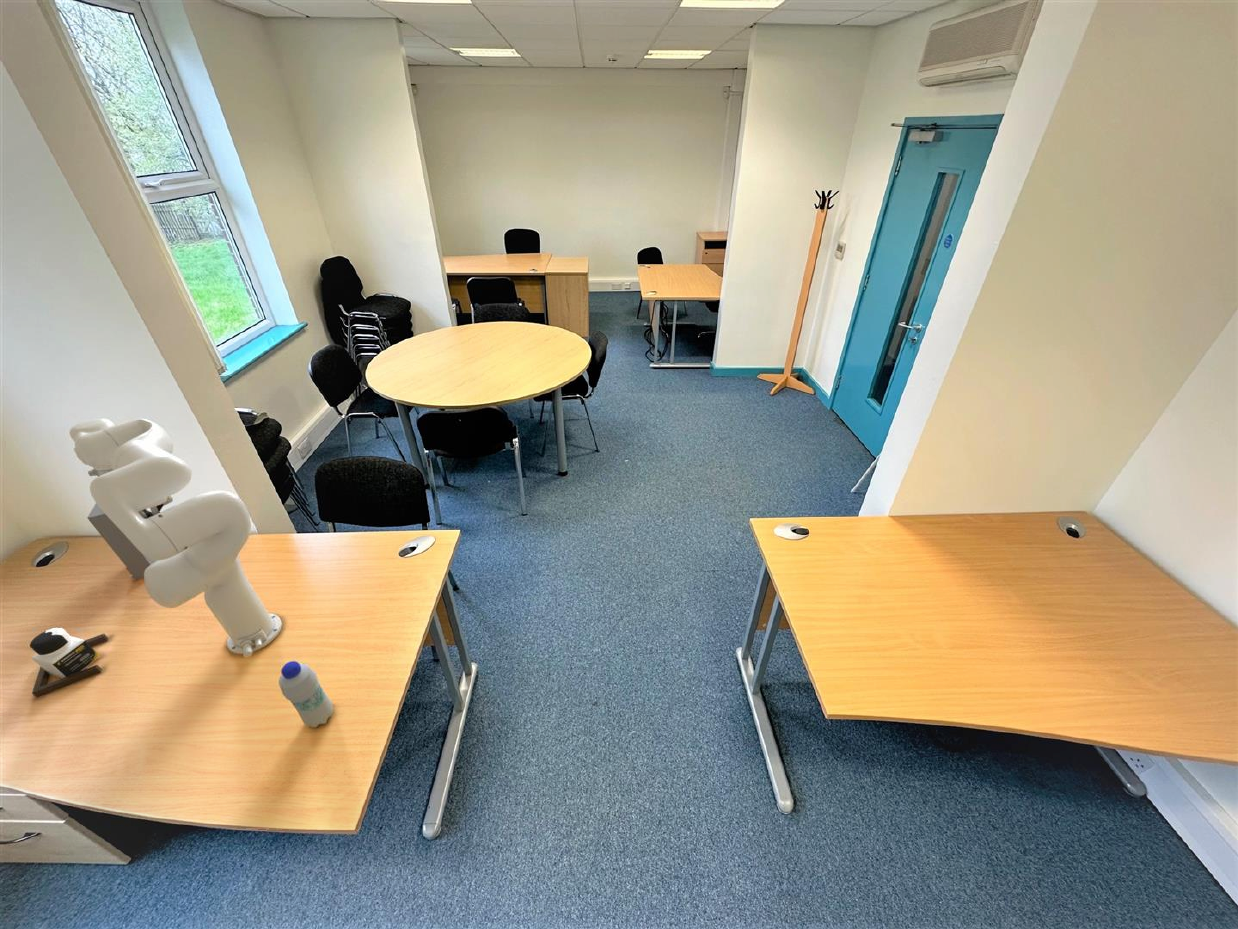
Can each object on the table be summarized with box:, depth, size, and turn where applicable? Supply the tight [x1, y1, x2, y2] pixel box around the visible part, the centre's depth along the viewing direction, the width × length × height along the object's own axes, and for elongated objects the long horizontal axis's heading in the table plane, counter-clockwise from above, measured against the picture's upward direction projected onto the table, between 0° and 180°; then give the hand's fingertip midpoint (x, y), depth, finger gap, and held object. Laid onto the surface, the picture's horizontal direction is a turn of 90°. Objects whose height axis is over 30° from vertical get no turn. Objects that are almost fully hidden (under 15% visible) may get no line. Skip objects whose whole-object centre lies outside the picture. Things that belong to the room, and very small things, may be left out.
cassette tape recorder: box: [86, 502, 158, 581], centre depth 149 cm, size 14×6×25 cm, turn 28°
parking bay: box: [31, 633, 109, 699], centre depth 124 cm, size 13×12×2 cm
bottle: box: [278, 660, 334, 728], centre depth 108 cm, size 7×7×20 cm
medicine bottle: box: [29, 627, 101, 679], centre depth 122 cm, size 7×7×12 cm
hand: (159, 525), depth 127 cm, fingers closed
